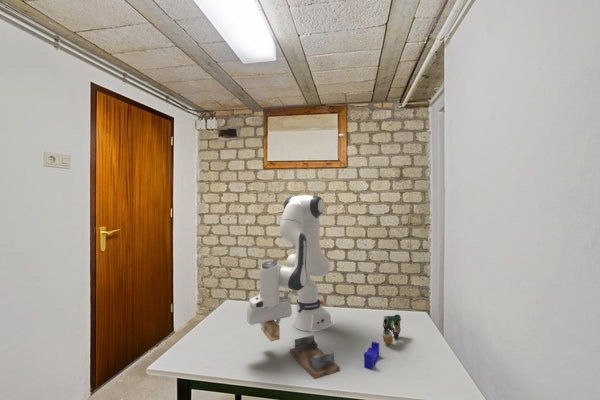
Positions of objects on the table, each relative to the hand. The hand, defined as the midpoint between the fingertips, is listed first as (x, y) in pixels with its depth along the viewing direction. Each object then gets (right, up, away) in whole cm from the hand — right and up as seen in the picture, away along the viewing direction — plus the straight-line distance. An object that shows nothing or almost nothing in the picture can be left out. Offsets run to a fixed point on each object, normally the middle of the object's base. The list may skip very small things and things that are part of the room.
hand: (270, 329), depth 133 cm
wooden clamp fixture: (+19, -11, -5) cm, 23 cm away
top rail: (0, -2, 0) cm, 2 cm away
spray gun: (+58, -12, +13) cm, 61 cm away
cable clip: (+43, -12, -5) cm, 45 cm away
